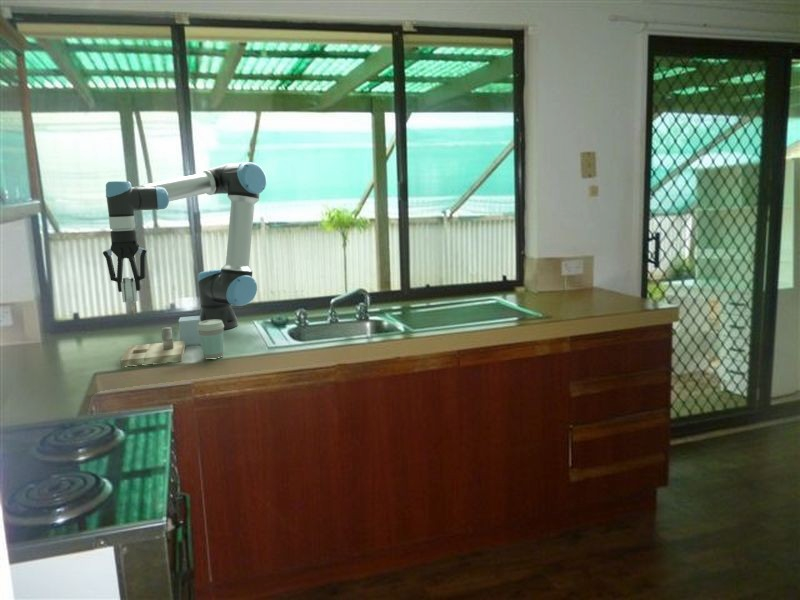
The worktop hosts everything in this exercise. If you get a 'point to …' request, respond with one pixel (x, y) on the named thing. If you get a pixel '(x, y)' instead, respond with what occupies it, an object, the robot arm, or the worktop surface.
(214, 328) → the coffee cup
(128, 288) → the peg
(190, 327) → the block
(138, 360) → the board
